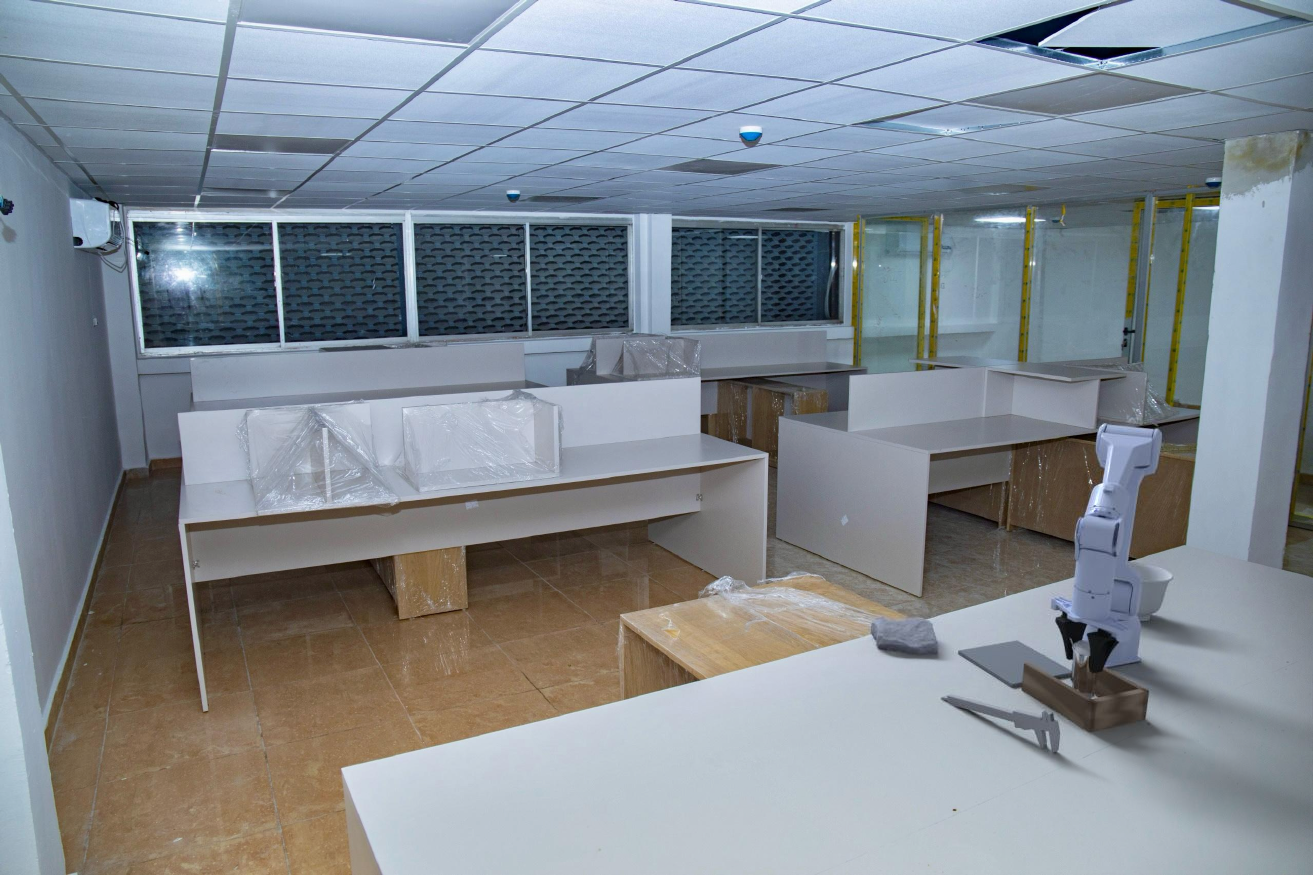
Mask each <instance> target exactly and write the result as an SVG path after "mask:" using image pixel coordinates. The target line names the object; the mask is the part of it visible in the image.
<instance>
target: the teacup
mask: <svg viewBox="0 0 1313 875" xmlns="http://www.w3.org/2000/svg"><path fill="white" fill-rule="evenodd" d="M1128 563H1129V564H1130V565H1131V566H1132V567H1133V568H1134V569H1136V570H1137V571H1138V572H1139V573H1140V574H1141V578H1142V586H1141V587H1142V594H1141V601H1140V606H1139V611H1138V614H1137V617H1138V618H1139V621H1140V622H1147V621H1149V620H1150V619H1151V615H1153V614H1156V613H1158V611H1160V610H1161V607H1162V605H1163V602H1164V598H1165V595H1166V592H1167V588H1168V585H1169V583H1170V582H1171V581H1172V580H1173V579H1174V575H1173V574H1172V573H1171V572H1170V571H1168V570H1166V569H1164V568H1161V567H1160V566H1156V565H1154V564H1153V565H1152V564H1150V563H1149V564H1148V563H1144V562H1136V561H1128ZM1114 579H1118V580H1123V581H1128V580H1126V579H1122V578H1117V577H1114ZM1128 582H1129V581H1128Z"/></svg>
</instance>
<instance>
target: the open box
mask: <svg viewBox="0 0 1313 875" xmlns="http://www.w3.org/2000/svg"><path fill="white" fill-rule="evenodd" d="M1072 670H1073V662H1072V665H1071V671H1072ZM1070 681H1071V682H1072V672H1071V676H1070ZM1020 690H1021V691H1023V692H1024V693H1025V694H1028V695H1029V696H1031V697H1032V698H1034V700H1035V699H1036V700H1037V701H1039V702H1040V703H1042V704H1043V705H1045V706H1047V707H1048V708H1049V709H1051V710H1053V712H1056V713H1058V714H1059V715H1061V716H1062V717H1063V718H1066V719H1067V720H1069V721H1070V722H1072V723H1074V724H1075V725H1077V726H1078V727H1080V728H1082V729H1083V730H1085V731H1086V732H1088V733H1091V732H1095V731H1099V730H1104V729H1109V728H1111V727H1116V726H1120V725H1125V724H1129V723H1135V722H1139V721H1143V720H1146V718H1147V710H1148V705H1149V704H1148V703H1149V697H1150V690H1149V689H1147V688H1145V687H1143V686H1141V685H1139V684H1137V683H1135V682H1134V681H1132V680H1130V679H1128V678H1127V677H1124V676H1123V675H1121V674H1119V673H1117V672H1114V671H1113V670H1111V669H1109V668H1108V667H1107V668H1105V667H1104V668H1103V671H1102V672H1098V678H1097V683H1096V688H1095V694H1094V695H1097V696H1098V697H1095V698H1094V697H1093V698H1090V697H1088V696H1086V695H1084V694H1083V693H1081V692H1079V691H1078V690H1076V689H1074V688H1072V685H1069V684H1068V683H1065V682H1063V681H1062V680H1060V678H1055V677H1053V676H1052V675H1050V674H1048V673H1047V672H1045V671H1043V670H1041V669H1040V668H1038V667H1036V666H1034V665H1033V664H1031V663H1029V662H1027V663H1024V669H1023V678H1022V685H1021V689H1020Z"/></svg>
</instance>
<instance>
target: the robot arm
mask: <svg viewBox="0 0 1313 875" xmlns="http://www.w3.org/2000/svg"><path fill="white" fill-rule="evenodd" d="M1162 439H1163V433H1162V431H1161V430H1160V429H1159V428H1144V427H1133V426H1125V425H1117V424H1116V425H1114V424H1113V425H1112V424H1108V423H1106V422H1105V423H1102V425H1100V426H1099V428H1098V430H1097V434H1096V441H1095V453H1096V457H1097V461H1098V462H1099V466H1100V467H1101V468H1103V469H1104V471H1103V478H1102V483H1099V484H1097V485H1095V486H1094V487H1093V489H1092V491H1091V494H1090V497H1089V501H1088V504H1087V507H1086V511H1085V512H1084V516H1083V517H1081V516H1079V518H1078V520H1077V522H1076V527H1075V531H1074V548H1075V551H1074V560H1075V569H1074V570H1075V571H1074V579H1073V588H1072V595H1071V596H1072V598H1071V600H1069V599H1067V598H1065V597H1062V596H1055V597H1052V598H1051V603H1050V609H1051V610H1053V611H1060V612H1061V615H1060V616H1055V619H1054V620H1055V623H1056V626H1057V627H1058V628H1057V629H1058V630H1059V632H1060V634H1061V638H1062V642H1063V646H1064V653H1065V658H1066V659H1067V660H1068V661H1073V660H1072V643H1071V640H1070V638H1071V639H1072V642H1073V644H1075V643H1076V642H1078V641H1080V640H1084V641H1089V646H1090V662H1089V669H1090V672H1092V673H1098V672H1102V671H1103V668H1104V667H1105V668H1107V669H1108V668H1111V667H1115V666H1122V665H1126V664H1132V663H1137V662H1141V661H1142V658H1141V657H1139V656H1138V655H1139V649H1140V647H1139V646H1140V640H1141V632H1142V625H1141V621H1139V618H1138V617H1137V614H1138V611H1139V606H1140V601H1141V594H1142V587H1141V586H1142V578H1141V574H1140V573H1139V572H1138V571H1137V570H1136V569H1134V568H1133V567H1132V566H1131V565H1130V564H1129V563H1128V562H1129V556H1130V549H1131V543H1132V535H1133V529H1134V524H1135V523H1134V522H1135V516H1136V508H1137V501H1138V495H1139V489H1140V485H1141V483H1142V481H1143V479H1144V477H1145V476H1149V475H1152V474H1155V473H1156V470H1157V469H1158V465H1159V459H1160V453H1161V448H1162V441H1163V440H1162ZM1114 577H1117V578H1122V579H1126V580H1128V581H1129V582H1128V581H1123V580H1118V579H1114Z"/></svg>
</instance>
